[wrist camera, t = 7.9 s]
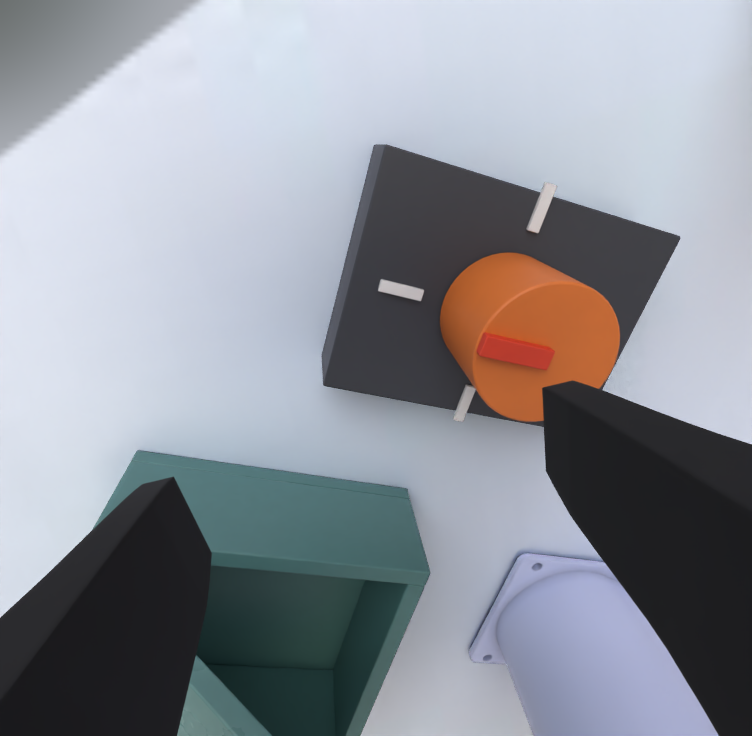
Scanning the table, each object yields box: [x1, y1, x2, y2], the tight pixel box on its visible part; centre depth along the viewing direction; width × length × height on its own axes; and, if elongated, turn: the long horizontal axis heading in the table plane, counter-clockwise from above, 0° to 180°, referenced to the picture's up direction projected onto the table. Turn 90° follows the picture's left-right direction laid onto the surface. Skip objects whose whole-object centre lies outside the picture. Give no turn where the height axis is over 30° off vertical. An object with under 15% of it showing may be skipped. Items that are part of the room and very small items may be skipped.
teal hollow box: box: [93, 451, 430, 736], centre depth 20 cm, size 11×12×5 cm
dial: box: [440, 252, 620, 422], centre depth 14 cm, size 4×4×4 cm
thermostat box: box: [322, 145, 680, 427], centre depth 17 cm, size 10×8×3 cm
